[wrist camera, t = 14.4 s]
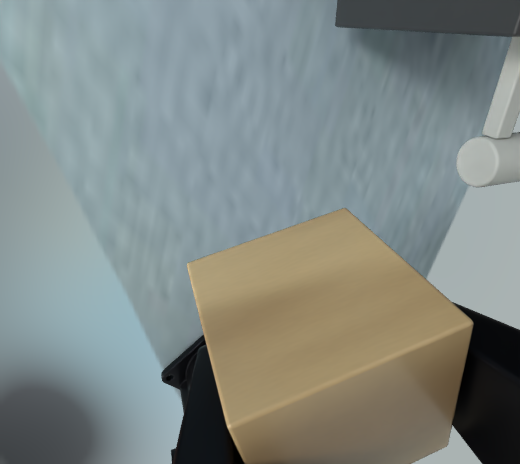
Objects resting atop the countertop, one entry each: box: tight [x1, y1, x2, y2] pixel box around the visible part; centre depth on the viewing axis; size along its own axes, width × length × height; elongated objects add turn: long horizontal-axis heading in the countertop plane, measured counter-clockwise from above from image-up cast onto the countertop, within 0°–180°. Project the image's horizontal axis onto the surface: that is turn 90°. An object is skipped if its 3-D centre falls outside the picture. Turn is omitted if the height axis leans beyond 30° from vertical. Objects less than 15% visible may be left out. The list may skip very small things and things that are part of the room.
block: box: [187, 208, 474, 464], centre depth 8 cm, size 4×4×4 cm
